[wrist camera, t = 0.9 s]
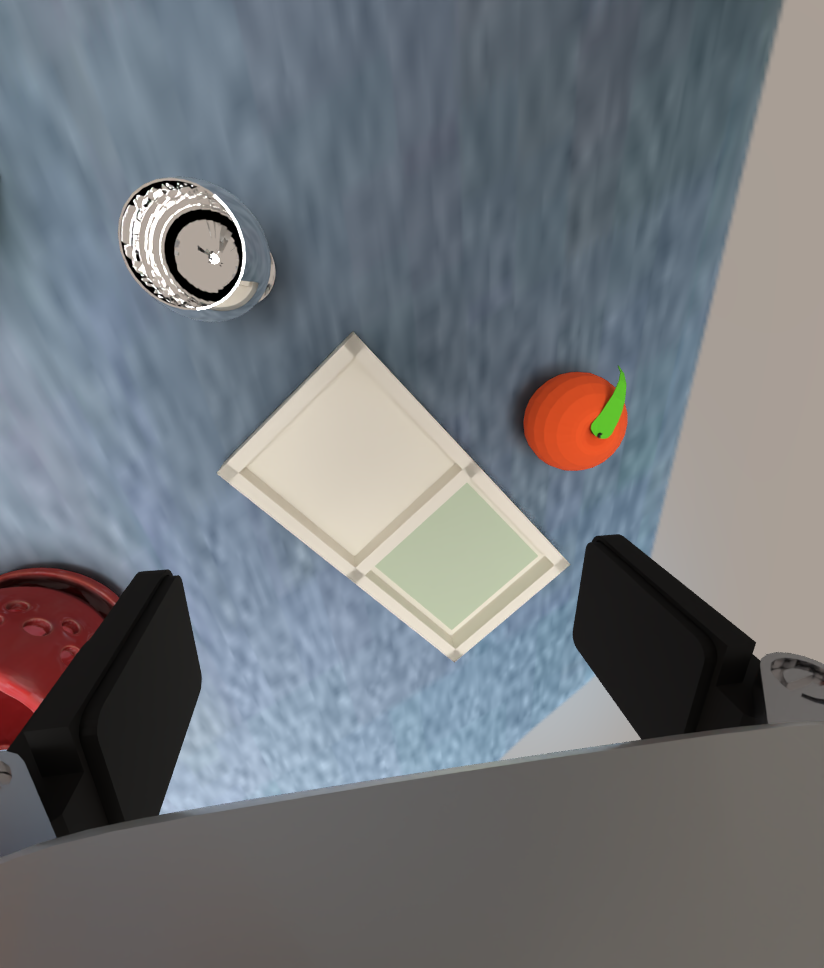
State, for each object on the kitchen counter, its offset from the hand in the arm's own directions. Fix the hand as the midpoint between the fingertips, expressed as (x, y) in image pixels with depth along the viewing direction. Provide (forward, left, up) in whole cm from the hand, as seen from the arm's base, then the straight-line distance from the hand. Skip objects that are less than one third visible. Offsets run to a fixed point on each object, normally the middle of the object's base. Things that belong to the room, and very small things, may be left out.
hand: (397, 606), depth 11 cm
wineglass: (-1, -11, -25) cm, 27 cm away
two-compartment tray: (+3, +9, -24) cm, 26 cm away
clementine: (-11, +11, -25) cm, 29 cm away
